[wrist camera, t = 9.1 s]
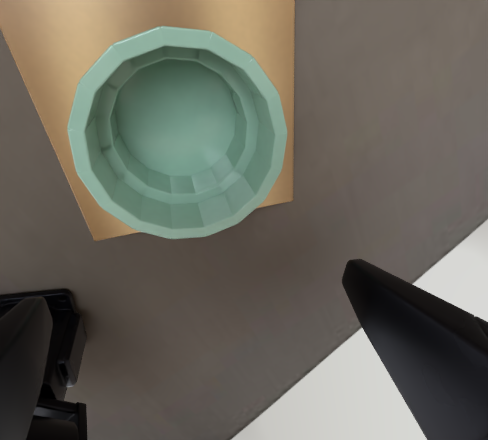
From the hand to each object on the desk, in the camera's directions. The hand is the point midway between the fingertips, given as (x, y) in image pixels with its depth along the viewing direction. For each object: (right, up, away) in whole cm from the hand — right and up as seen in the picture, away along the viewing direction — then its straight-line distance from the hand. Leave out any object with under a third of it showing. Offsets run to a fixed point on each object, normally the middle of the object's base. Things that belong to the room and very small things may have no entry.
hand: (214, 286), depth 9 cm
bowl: (-2, +7, +6) cm, 9 cm away
